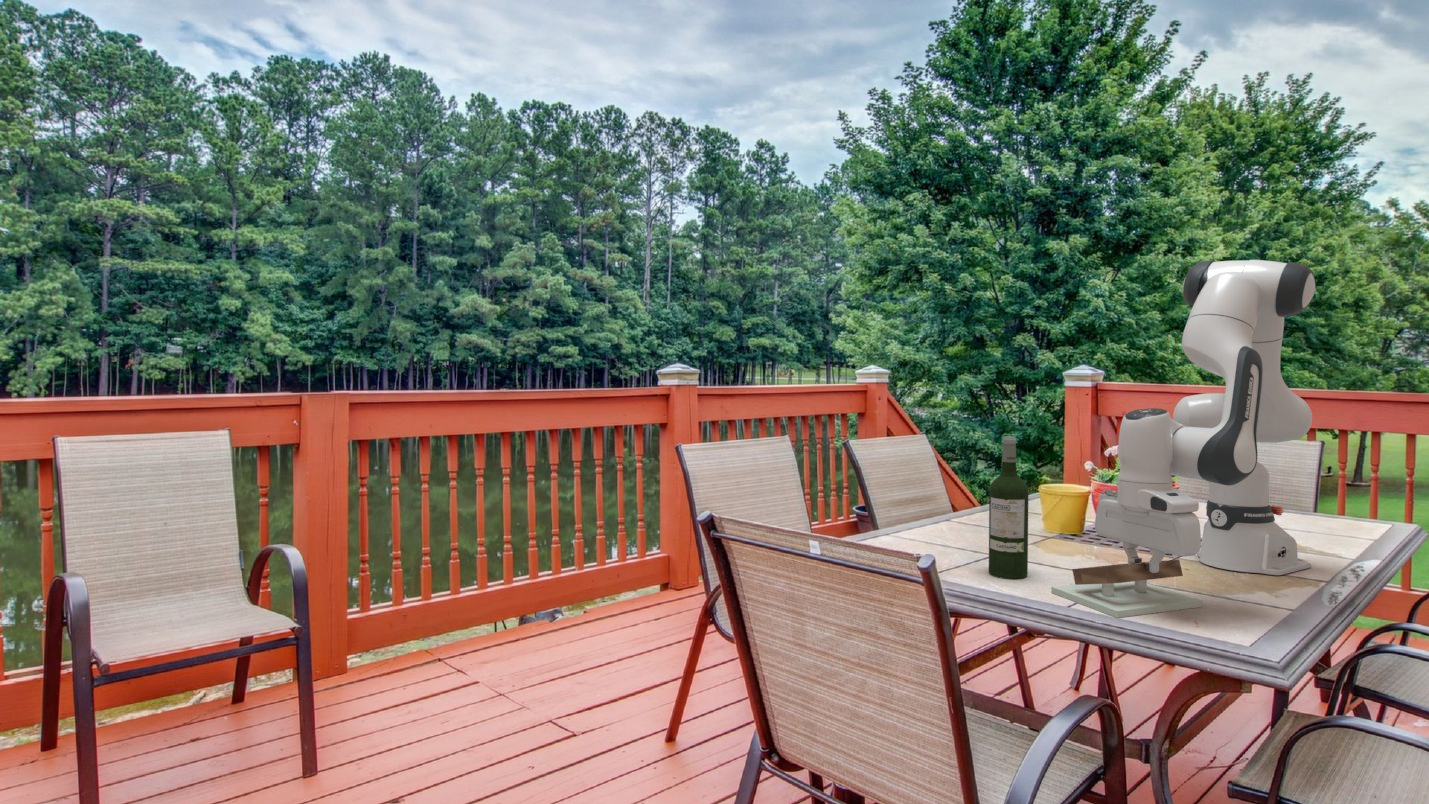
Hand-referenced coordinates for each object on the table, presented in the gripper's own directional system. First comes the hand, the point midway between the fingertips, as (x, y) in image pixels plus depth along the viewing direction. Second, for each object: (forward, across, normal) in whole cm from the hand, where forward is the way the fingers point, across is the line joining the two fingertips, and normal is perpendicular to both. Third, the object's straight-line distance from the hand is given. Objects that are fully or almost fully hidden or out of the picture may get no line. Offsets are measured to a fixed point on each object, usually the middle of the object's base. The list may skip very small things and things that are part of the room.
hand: (1143, 569), depth 138 cm
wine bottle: (+7, -26, -9) cm, 29 cm away
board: (+7, -4, 0) cm, 8 cm away
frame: (+3, -3, 0) cm, 4 cm away
